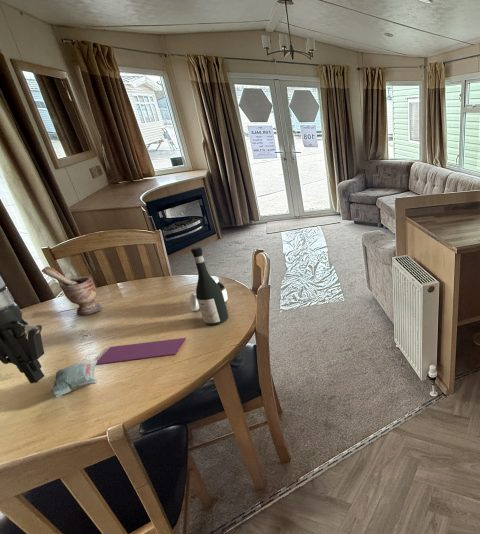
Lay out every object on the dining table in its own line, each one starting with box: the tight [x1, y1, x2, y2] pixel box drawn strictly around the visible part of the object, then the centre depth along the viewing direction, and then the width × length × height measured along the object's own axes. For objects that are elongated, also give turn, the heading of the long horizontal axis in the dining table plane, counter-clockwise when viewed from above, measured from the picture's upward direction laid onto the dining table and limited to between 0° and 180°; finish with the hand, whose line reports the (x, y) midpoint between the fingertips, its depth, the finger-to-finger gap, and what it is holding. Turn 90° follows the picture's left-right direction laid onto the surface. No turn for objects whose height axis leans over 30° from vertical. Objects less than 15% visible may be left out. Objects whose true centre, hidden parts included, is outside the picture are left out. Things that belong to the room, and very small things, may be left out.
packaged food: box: [51, 358, 98, 398], centre depth 97 cm, size 9×12×5 cm
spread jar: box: [189, 275, 229, 312], centre depth 136 cm, size 12×11×12 cm
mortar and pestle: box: [41, 266, 103, 316], centre depth 128 cm, size 12×9×20 cm
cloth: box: [95, 337, 187, 366], centre depth 112 cm, size 22×9×1 cm, turn 106°
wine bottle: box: [190, 246, 229, 326], centre depth 123 cm, size 8×8×30 cm
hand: (37, 379), depth 95 cm, fingers closed
